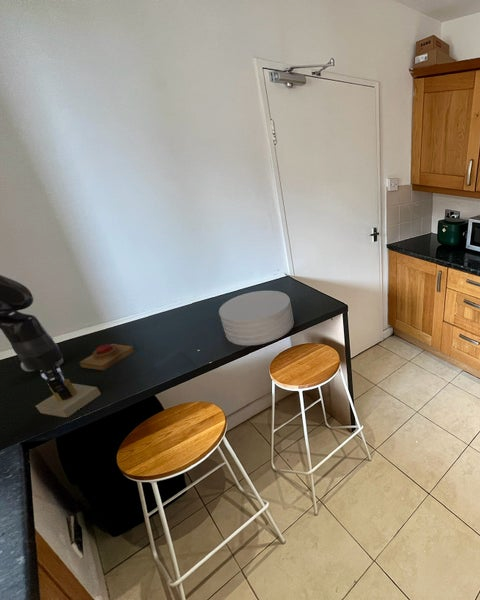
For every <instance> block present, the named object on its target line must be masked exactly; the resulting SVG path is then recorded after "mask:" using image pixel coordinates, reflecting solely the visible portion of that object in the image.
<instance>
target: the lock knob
mask: <svg viewBox="0 0 480 600" xmlns="http://www.w3.org/2000/svg"><path fill="white" fill-rule="evenodd" d="M64 383H65V384H66V385H67V388H68V390H69V391H70V393H71V394H72V397H74V396H75V395H76V394H77V392H76V390H75V388H74V387H73V385H72V382H71V380H70V379H69V378H65V380H64ZM58 387H59V386H58ZM49 390H50V391H51V393H52V395H54V396H55V397H56V399H57V400H58V401H65V400H62V399H61V397H60V396H59V394H58V393H55V392H54V391H53V389H52V388H51V387H50V386H49ZM72 397H71V398H72ZM69 399H70V398H69ZM66 400H68V399H66Z"/></svg>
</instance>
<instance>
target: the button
mask: <svg viewBox="0 0 480 600" xmlns="http://www.w3.org/2000/svg"><path fill="white" fill-rule="evenodd" d="M95 350H97V352H98V354H103V353H106V352H109V351H111V350H112V348H111V346H110V344H109V343H107V344H102V345H100V346H98V347H96V348H95Z"/></svg>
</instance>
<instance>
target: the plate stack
mask: <svg viewBox="0 0 480 600" xmlns="http://www.w3.org/2000/svg"><path fill="white" fill-rule="evenodd" d="M218 315H219V317H220V321H221V325H222V327H223V331H224V335H225V338H226V340H228V342H230V343H232V344H234V345H237V346H259V345H264V344H268V343H271V342H274V341H276V340H278V339H280V338H282V337H284V336H285V335H286V334H288V333H289V332H290V331H291V330H292V328H293V327H294V325H295V321H294V315H293V309H292V304H291V299H290V296H289V295H288V294H286V293H284V292H281V291H278V290H257V291H251V292H246V293H242V294H240V295H237V296H234V297H232V298H231V299H228V300H227V301H225V302H224V303H223V304H222V305H221V306H220V307H219V310H218Z"/></svg>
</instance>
